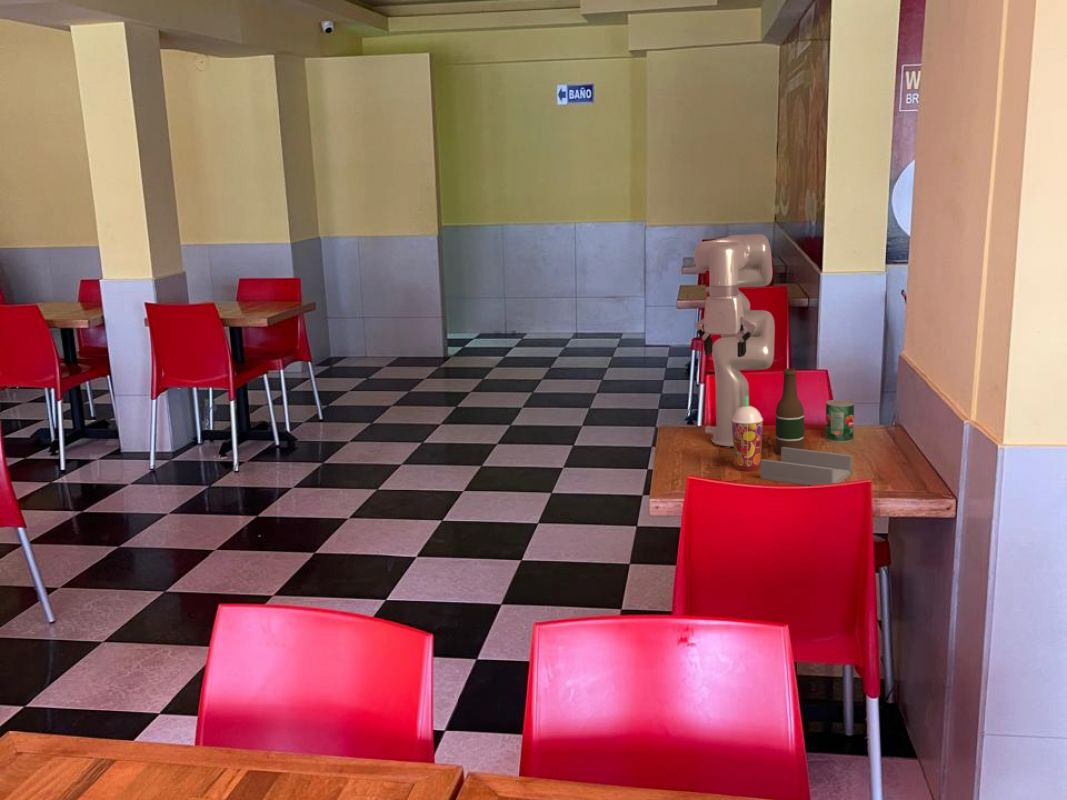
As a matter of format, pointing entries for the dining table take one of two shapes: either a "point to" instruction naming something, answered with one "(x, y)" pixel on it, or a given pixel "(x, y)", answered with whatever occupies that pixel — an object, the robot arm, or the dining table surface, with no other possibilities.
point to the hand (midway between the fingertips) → (724, 355)
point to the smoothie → (747, 437)
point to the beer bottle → (789, 415)
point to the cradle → (807, 467)
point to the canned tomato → (839, 420)
